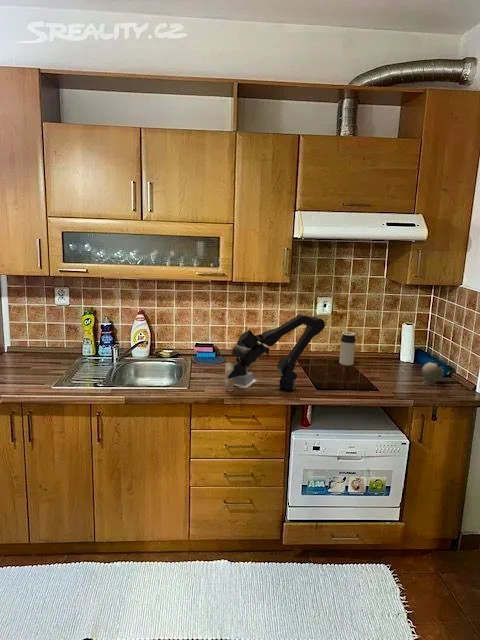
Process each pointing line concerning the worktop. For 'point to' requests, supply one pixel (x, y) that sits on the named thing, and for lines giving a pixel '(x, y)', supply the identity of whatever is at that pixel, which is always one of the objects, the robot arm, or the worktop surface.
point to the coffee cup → (242, 346)
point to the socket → (244, 380)
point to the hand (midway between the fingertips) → (229, 374)
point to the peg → (228, 370)
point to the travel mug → (347, 348)
